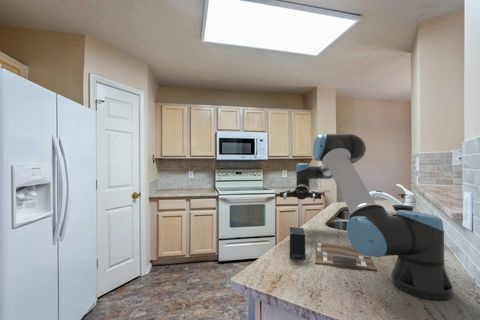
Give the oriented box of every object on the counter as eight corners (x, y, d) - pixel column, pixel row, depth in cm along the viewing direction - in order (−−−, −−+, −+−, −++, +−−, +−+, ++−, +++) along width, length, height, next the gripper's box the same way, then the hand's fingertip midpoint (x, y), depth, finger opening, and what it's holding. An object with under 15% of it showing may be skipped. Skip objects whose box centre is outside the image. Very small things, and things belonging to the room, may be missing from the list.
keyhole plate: (376, 271, 85) (376, 261, 85) (315, 263, 92) (315, 254, 92) (365, 248, 107) (364, 240, 107) (316, 243, 114) (316, 236, 114)
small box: (306, 260, 95) (305, 234, 95) (289, 259, 96) (289, 233, 96) (304, 251, 105) (304, 227, 105) (289, 250, 107) (289, 226, 107)
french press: (388, 239, 119) (387, 194, 119) (393, 235, 125) (392, 192, 126) (417, 245, 110) (416, 196, 111) (421, 240, 117) (420, 194, 117)
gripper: (325, 199, 128) (326, 207, 108) (279, 197, 136) (272, 204, 116) (325, 185, 128) (326, 191, 108) (279, 184, 136) (272, 189, 116)
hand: (298, 198), depth 112 cm, fingers open, 13 cm apart
